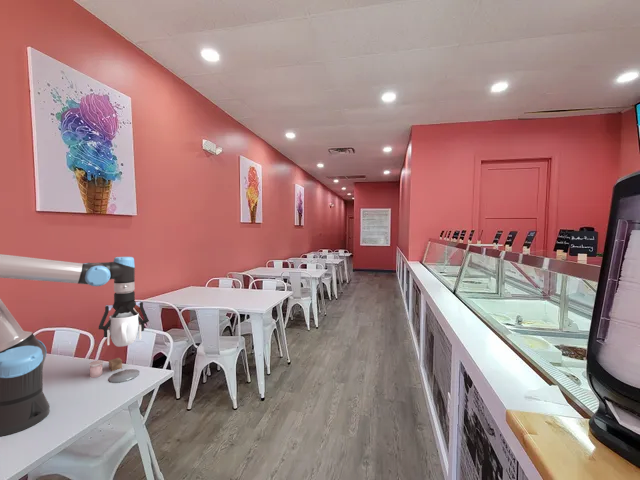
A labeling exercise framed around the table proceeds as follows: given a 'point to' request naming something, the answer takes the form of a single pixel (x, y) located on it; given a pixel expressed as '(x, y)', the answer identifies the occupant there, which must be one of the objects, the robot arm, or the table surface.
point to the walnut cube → (115, 364)
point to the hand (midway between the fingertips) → (124, 341)
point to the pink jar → (96, 368)
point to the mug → (124, 328)
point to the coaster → (124, 376)
